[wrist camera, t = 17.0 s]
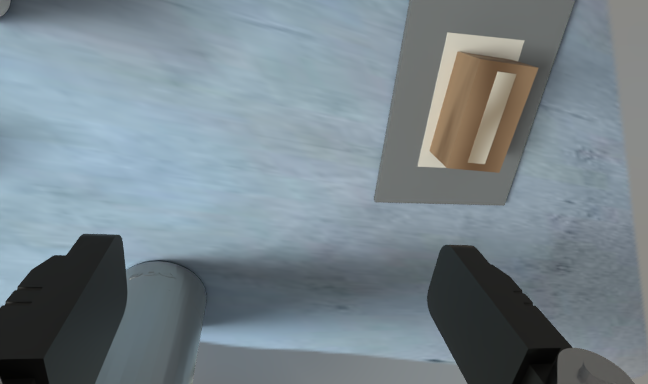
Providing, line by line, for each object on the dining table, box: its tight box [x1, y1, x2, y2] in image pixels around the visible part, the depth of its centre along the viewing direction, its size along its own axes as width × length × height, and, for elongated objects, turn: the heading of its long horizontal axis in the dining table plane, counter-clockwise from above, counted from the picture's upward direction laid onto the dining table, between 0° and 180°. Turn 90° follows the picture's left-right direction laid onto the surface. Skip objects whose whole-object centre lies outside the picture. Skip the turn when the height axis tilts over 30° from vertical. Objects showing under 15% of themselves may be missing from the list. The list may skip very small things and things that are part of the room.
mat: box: [374, 0, 575, 205], centre depth 37 cm, size 20×14×1 cm
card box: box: [430, 51, 538, 173], centre depth 34 cm, size 5×9×4 cm, turn 171°
